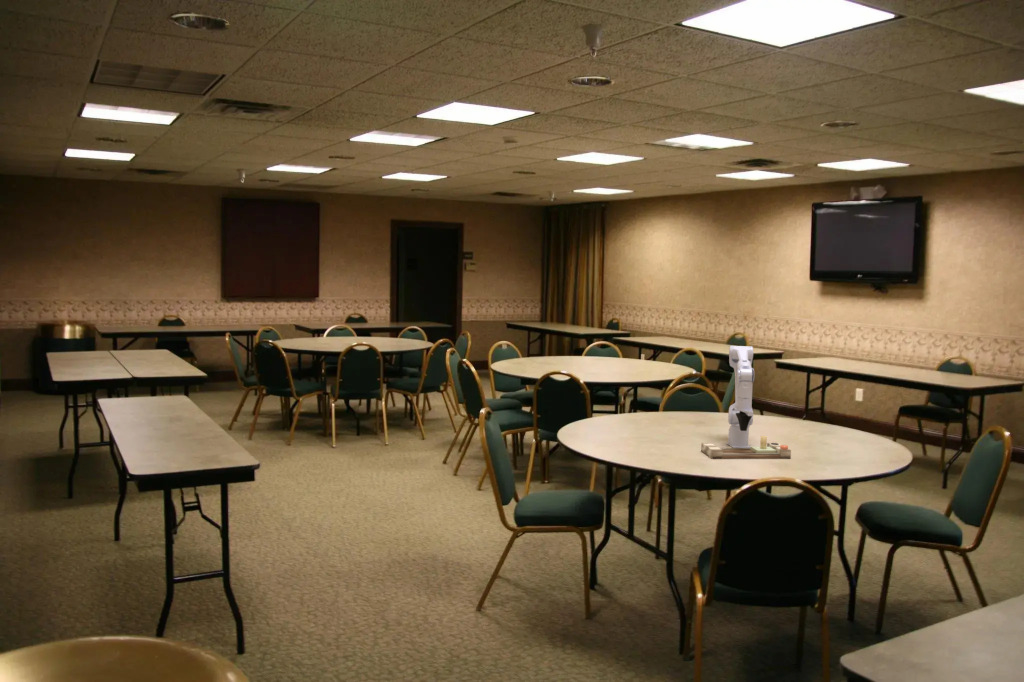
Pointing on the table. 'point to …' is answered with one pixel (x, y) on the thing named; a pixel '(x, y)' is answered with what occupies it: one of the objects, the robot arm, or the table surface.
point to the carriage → (763, 447)
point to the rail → (744, 452)
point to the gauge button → (784, 447)
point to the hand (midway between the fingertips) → (743, 430)
